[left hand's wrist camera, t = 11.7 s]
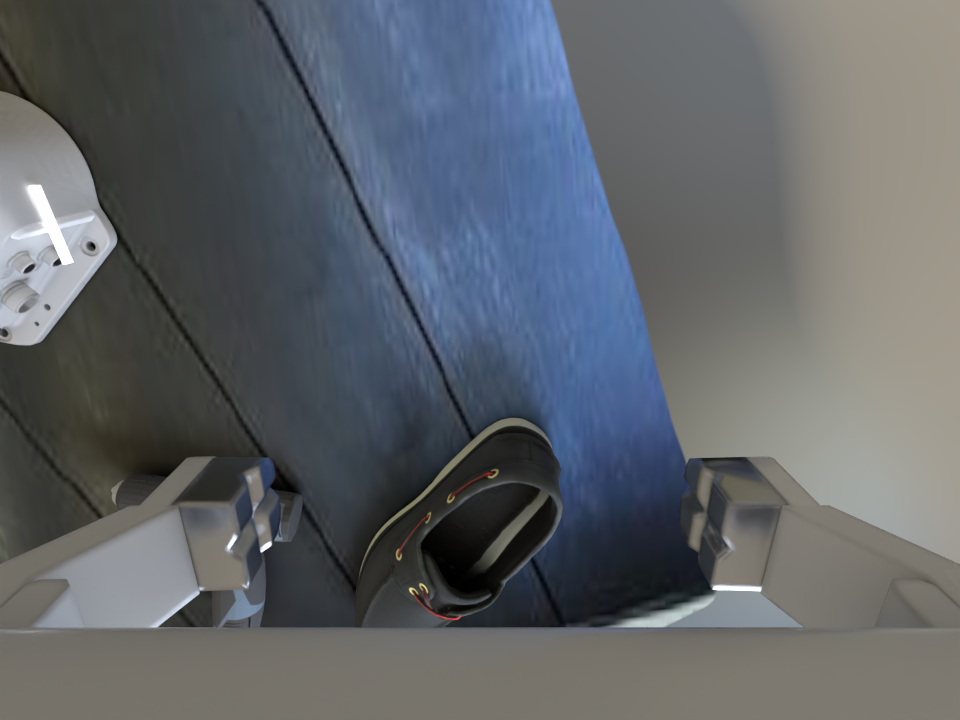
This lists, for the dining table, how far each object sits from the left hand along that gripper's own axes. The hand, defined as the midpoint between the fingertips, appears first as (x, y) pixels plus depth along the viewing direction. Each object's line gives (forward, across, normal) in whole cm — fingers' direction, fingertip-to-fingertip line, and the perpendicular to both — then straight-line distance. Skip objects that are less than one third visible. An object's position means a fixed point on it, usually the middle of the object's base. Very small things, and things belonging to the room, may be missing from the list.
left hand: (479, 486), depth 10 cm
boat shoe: (+39, +3, +33) cm, 51 cm away
